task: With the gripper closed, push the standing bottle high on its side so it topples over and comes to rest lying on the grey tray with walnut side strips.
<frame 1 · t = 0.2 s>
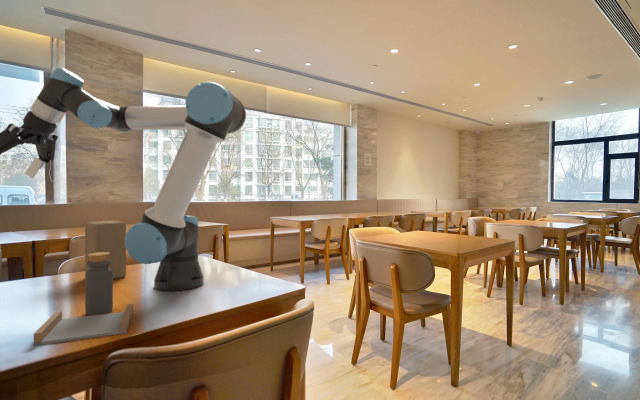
hand: (7, 174, 101), 36 cm above the table, tool tilted 35°, fingers open, 13 cm apart
grey tray: (89, 327, 76), on the table
wooden block: (105, 278, 119), on the table
bottle: (99, 312, 85), on the table
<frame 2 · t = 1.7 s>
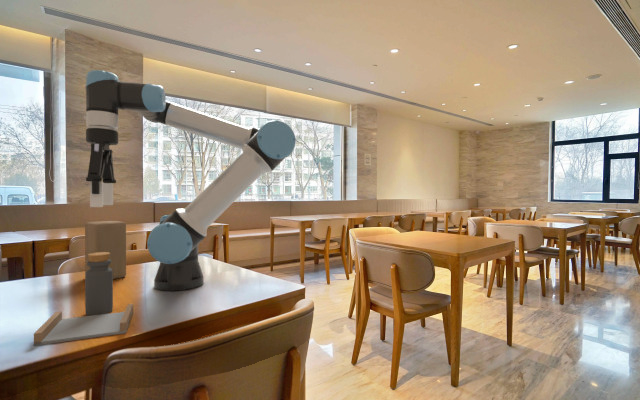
hand: (102, 206, 93), 27 cm above the table, tool pointing down, fingers open, 13 cm apart
nothing on the table moved.
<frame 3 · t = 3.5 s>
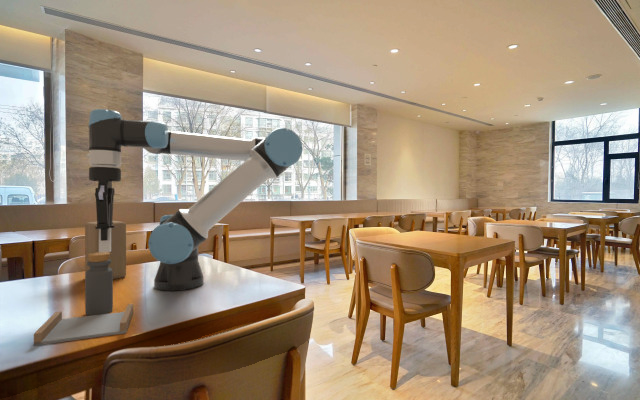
hand: (105, 251, 93), 14 cm above the table, tool pointing down, fingers closed
nothing on the table moved.
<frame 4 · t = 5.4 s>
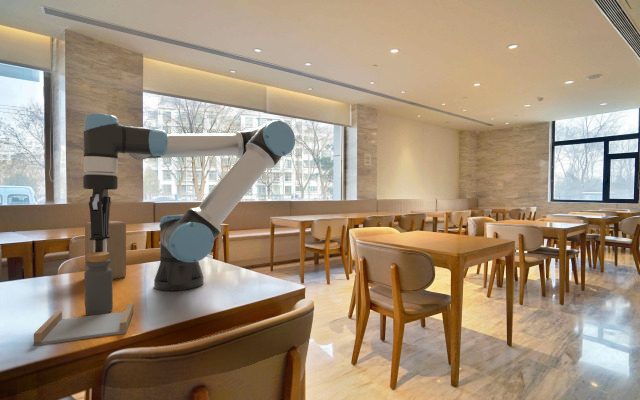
hand: (99, 264, 88), 12 cm above the table, tool pointing down, fingers closed
bottle: (99, 312, 85), on the table, touching gripper
everything else where it was.
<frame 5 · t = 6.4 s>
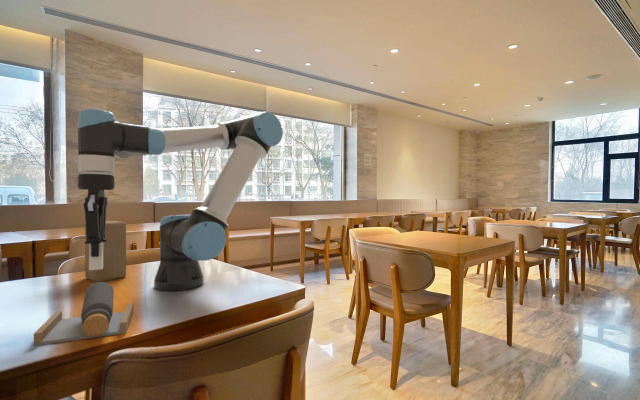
hand: (96, 269, 83), 12 cm above the table, tool pointing down, fingers closed
bottle: (99, 292, 82), point 6 cm above the table, touching grey tray
everything else where it was.
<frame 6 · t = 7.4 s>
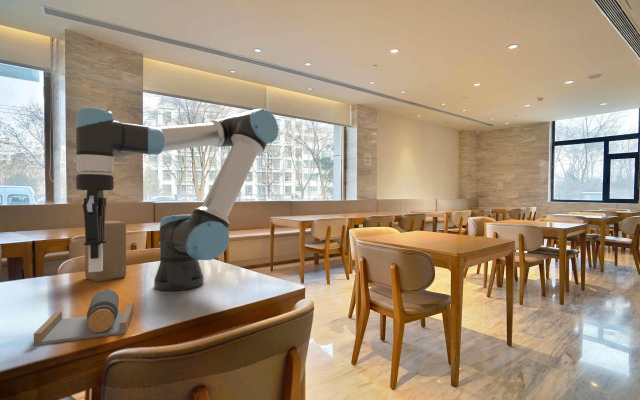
hand: (95, 271, 81), 11 cm above the table, tool pointing down, fingers closed
bottle: (105, 300, 83), point 4 cm above the table, touching grey tray
everything else where it was.
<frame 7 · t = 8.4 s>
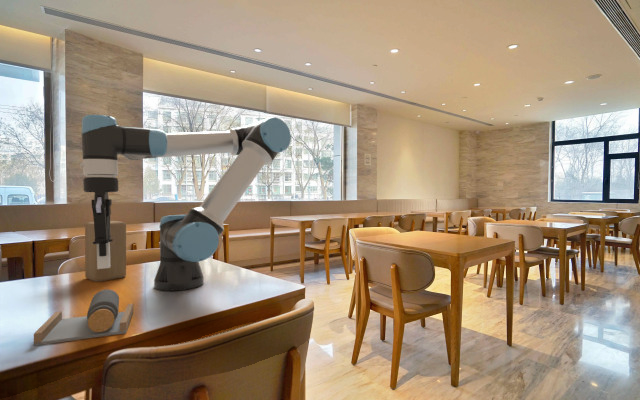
hand: (104, 267, 87), 11 cm above the table, tool pointing down, fingers closed
nothing on the table moved.
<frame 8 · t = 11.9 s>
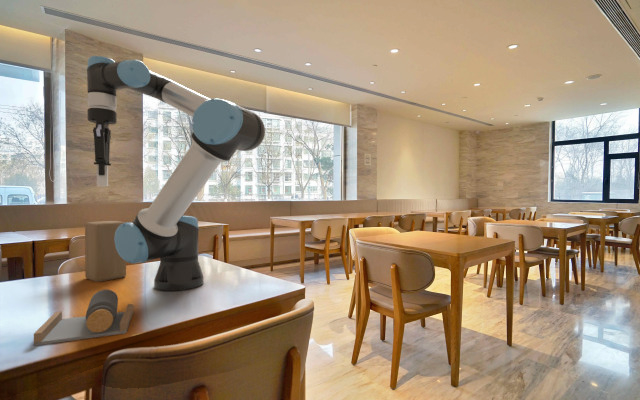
hand: (102, 186, 104), 32 cm above the table, tool pointing down, fingers closed
nothing on the table moved.
at the end: bottle tilted 90°; bottle inside the target area (3.8 cm from its centre), point 3.5 cm above the table; the gripper is holding nothing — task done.
